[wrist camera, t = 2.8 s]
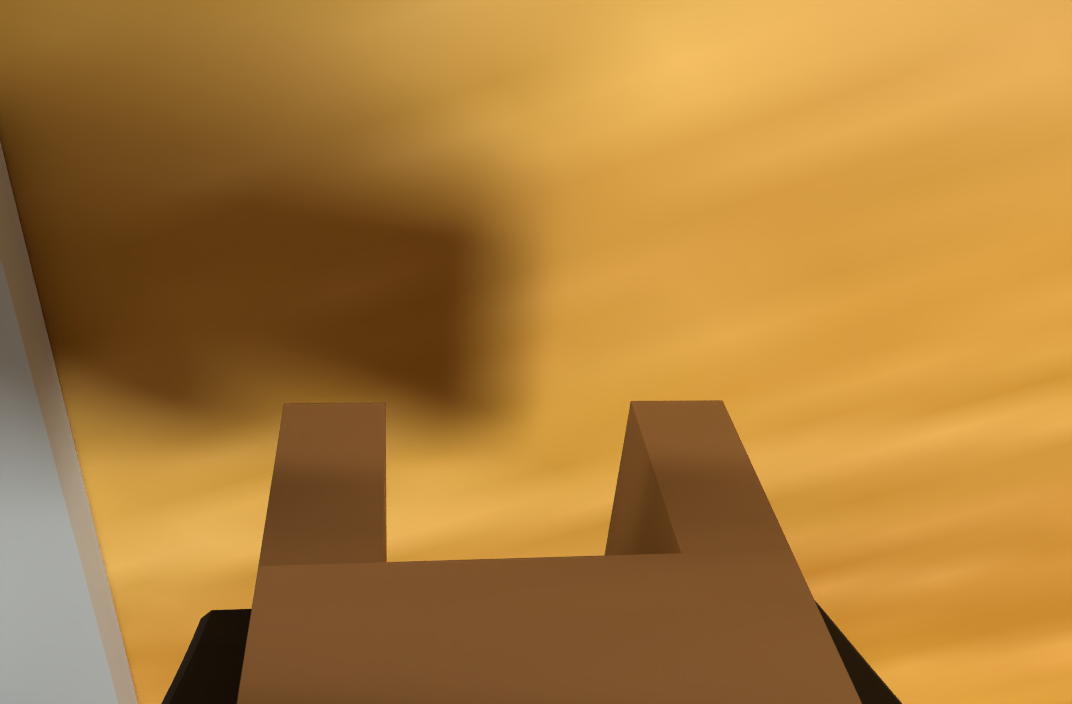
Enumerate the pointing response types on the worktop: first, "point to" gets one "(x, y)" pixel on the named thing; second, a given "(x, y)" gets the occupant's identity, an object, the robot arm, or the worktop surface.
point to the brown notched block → (536, 586)
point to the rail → (46, 515)
